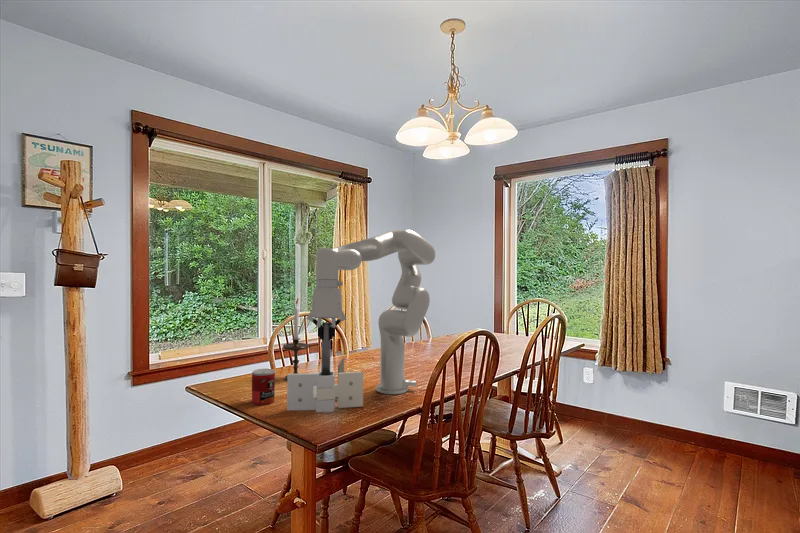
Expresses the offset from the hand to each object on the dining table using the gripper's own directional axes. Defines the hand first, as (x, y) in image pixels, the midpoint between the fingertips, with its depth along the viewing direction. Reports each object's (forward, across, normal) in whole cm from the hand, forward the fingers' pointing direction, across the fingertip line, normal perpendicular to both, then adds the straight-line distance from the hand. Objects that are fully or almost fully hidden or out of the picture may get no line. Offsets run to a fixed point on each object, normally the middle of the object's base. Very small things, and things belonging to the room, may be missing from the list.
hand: (326, 338), depth 144 cm
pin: (+13, 0, 0) cm, 13 cm away
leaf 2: (+24, -5, -1) cm, 24 cm away
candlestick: (+24, +15, -40) cm, 49 cm away
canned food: (+24, +22, -9) cm, 34 cm away
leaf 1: (+24, +5, 0) cm, 24 cm away
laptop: (+24, +1, -18) cm, 30 cm away
